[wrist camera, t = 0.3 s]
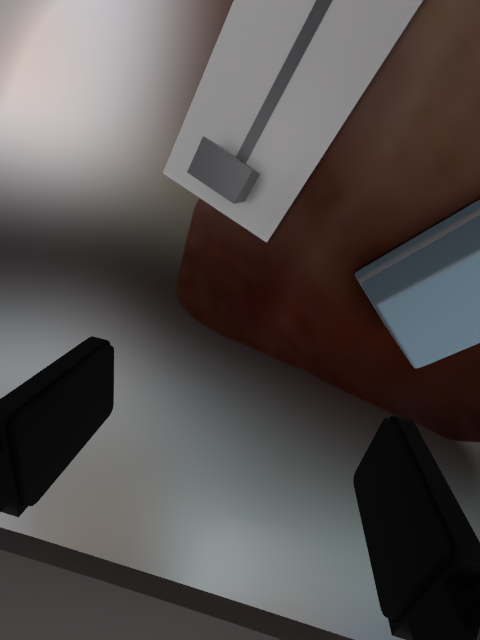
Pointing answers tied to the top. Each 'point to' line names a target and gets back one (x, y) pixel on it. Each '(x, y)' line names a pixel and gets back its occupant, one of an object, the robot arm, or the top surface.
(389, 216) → the top surface
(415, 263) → the radio
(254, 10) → the panel
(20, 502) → the robot arm
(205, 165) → the fader knob
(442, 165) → the top surface
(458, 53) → the top surface
